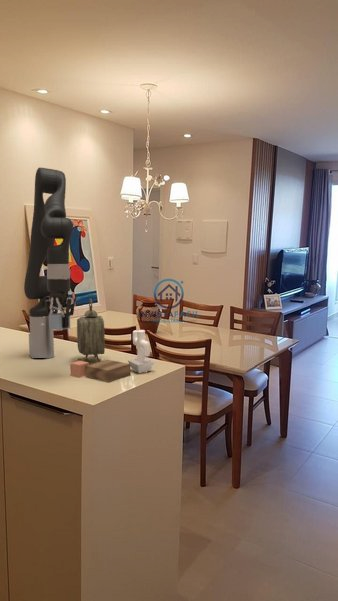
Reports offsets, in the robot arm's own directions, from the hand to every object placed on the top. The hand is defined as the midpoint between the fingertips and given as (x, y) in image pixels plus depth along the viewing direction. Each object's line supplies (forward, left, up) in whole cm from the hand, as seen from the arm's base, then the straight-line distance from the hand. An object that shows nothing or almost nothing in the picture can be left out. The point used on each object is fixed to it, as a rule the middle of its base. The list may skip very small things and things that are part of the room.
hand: (60, 327), depth 156 cm
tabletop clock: (-8, +22, -18) cm, 29 cm away
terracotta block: (+3, +6, -18) cm, 19 cm away
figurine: (+17, +23, -18) cm, 33 cm away
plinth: (+12, +11, -18) cm, 24 cm away
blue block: (0, 0, -1) cm, 1 cm away
